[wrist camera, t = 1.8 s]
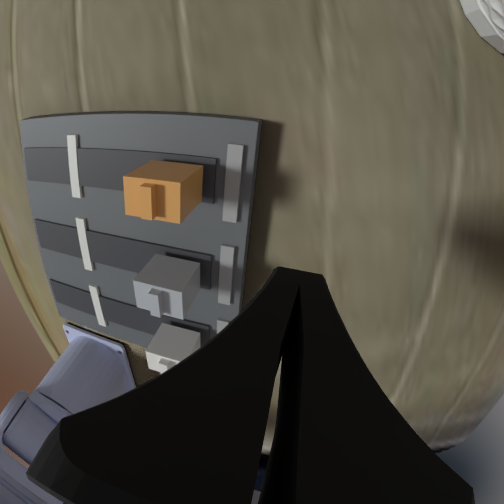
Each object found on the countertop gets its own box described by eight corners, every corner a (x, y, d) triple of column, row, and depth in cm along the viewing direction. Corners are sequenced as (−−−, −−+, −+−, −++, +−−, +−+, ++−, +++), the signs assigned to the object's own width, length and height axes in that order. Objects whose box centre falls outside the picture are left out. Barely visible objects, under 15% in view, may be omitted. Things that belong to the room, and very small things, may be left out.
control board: (236, 360, 26) (232, 373, 24) (66, 308, 28) (58, 317, 27) (262, 119, 16) (257, 122, 15) (30, 117, 18) (17, 120, 17)
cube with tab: (200, 350, 23) (185, 385, 20) (164, 340, 23) (146, 373, 20) (200, 332, 22) (183, 368, 19) (162, 322, 22) (142, 356, 19)
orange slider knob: (201, 200, 17) (175, 228, 14) (152, 193, 17) (120, 218, 14) (203, 165, 16) (175, 186, 13) (152, 160, 16) (117, 179, 13)
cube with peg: (200, 289, 20) (180, 325, 17) (157, 279, 20) (133, 312, 17) (200, 263, 19) (178, 298, 16) (155, 253, 19) (128, 285, 16)
